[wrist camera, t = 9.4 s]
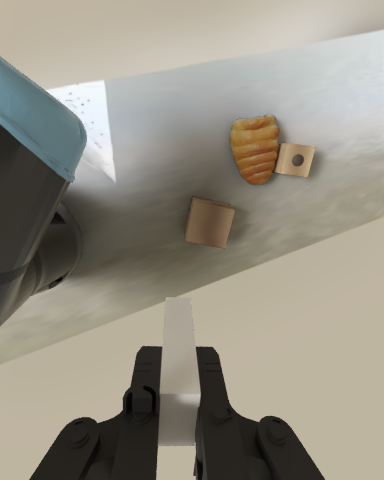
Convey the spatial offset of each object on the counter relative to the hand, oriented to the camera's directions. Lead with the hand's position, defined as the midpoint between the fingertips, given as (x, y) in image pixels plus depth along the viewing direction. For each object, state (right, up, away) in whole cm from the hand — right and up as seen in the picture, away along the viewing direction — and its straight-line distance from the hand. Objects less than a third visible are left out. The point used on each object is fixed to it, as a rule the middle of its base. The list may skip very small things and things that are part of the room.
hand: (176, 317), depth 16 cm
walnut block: (+3, +8, +26) cm, 27 cm away
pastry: (+8, +16, +24) cm, 30 cm away
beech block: (+15, +17, +23) cm, 33 cm away
